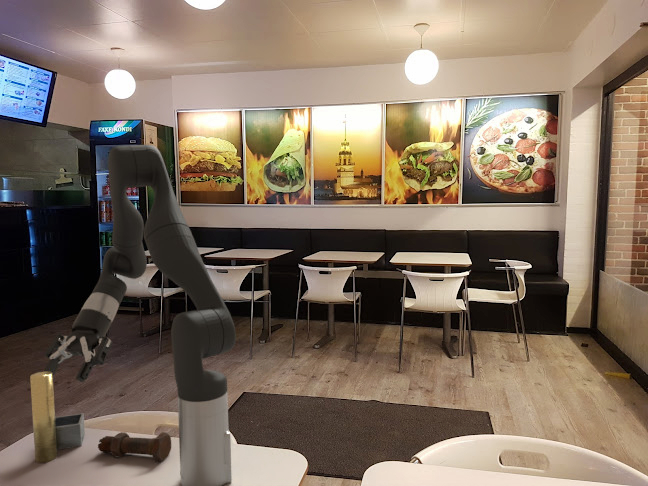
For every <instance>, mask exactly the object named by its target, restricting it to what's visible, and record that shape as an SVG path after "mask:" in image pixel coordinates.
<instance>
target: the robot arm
mask: <svg viewBox="0 0 648 486" xmlns="http://www.w3.org/2000/svg"><path fill="white" fill-rule="evenodd" d="M107 167H108V168H107V169H108V170H107V171H108V180H109V181H108V182H109V190H110V200H111V206H112V207H111V208H112V217H113V219H112V220H113V221H112V223H113V224H112V239H111V243H112V246H111V247H110V248H108V250H106V251H105V254H104V257H103V261H102V262H103V263H102V269H101V271H100V275H99V278H98V281H97V283H96V284H95V286H94V289H93V291H92V293H91V294H90V295H89V297H88V298H87V299H86V301H85V302H84V304H83V306H82V307H81V310H80V311H79V312H78V315H77V316H76V318H75V320H74V322H73V323H72V330H71V332H70V334H68V335H63V334H62V333H60V332H59V333H57V334H56V336H55V337H54V339H53V340H52V342H51V343H50V345H49V346H48V348H47V350H46V351H45V352H44V356H45V357H46V358H47V359H48V360H49V361H48V363H47V365H46V366H45V369H44V370H43V372H52V373H53V376H54V375H56V372H57V371H58V369H59V367H60V363H63V361H65V360H66V359H70V358H72V356H75V357H77V356H80V357H84V362H83V363H82V364H81V366H80V369H79V371H78V372H77V374H76V377H75V379H76V380H77V381H78V382H80V383H85V381H86V380H87V379H88V378H89V376H90V374H91V372H92V370H93V368H94V367H95V366H97V365H100V366H102V365H104V364H105V363H106V360H107V357H108V355H109V352H110V349H111V348H112V345H113V341H112V340H111V339H110V338H109V337H108V336H106V334H107V333H108V331H109V328H110V327H111V325H112V323H113V321H114V319H115V316H116V315H117V312H118V309H119V307H120V305H121V302H122V301H123V298H124V297H125V295H126V292H127V290H128V286H127V284H126V282H125V281H123V280H122V279H121V278H119V277H118V276H115V275H119V276H122V277H124V278H128V279H133V280H136V279H139V278H141V277H142V276H143V275H144V273H145V272H146V269H147V266H148V265H147V264H148V262H147V259H148V258H147V254H146V251H145V249H144V244H143V240H144V242H145V245H146V247H147V250H148V253H149V256H150V259H151V261H152V263H153V265H155V267H156V269H157V270H159V271H160V272H161V273H162V274H163V275H165V276H166V278H168V279H169V280H170V281H172V282H173V283H174V284H175V285H177V286H178V287H180V288H181V289H182V290H183V292H185V293H186V294H187V296H189V298H190V300H191V301H192V303H193V305H194V306H195V307H196V309H193V310H189V311H188V310H187V311H183V312H180V313H178V314H177V315H175V316H174V319H173V321H172V323H171V329H170V330H171V332H170V333H171V336H170V337H171V347H172V355H173V357H172V358H173V373H174V379H175V383H176V384H175V385H176V387H177V411H178V412H177V414H178V441H179V469H180V470H179V476H180V485H181V486H224V485H226V484H228V483H232V480H233V479H232V448H231V447H232V446H231V445H232V444H231V442H232V440H231V437H232V436H231V432H230V429H229V405H228V403H229V402H228V400H229V398H228V379H227V376H226V375H225V374H224V373H223V372H220V371H217V370H212V369H204V364H203V359H207V358H211V357H215V356H219V355H222V354H225V353H227V352H230V351H231V350H232V349H233V348H234V347H235V345H236V340H237V334H236V326H235V323H234V320H233V318H232V314H231V312H230V311H229V309H228V307H227V305H226V303H225V302H224V300H223V298H222V296H221V294H220V292H219V291H218V289H217V287H216V285H215V284H214V282H213V279H212V278H211V276H210V274H209V272H208V270H207V267H206V266H205V263H204V261H203V258H202V257H201V253H200V252H199V248H198V246H197V243H196V240H195V238H194V236H193V234H192V230H191V229H190V227H189V224H188V222H187V221H186V219H185V216H184V213H183V212H182V210H181V206H180V204H179V202H178V200H177V197H176V195H175V192H174V188H173V185H172V183H171V178H170V177H169V176H170V175H169V173H168V170H167V166H166V163H165V160H164V158H163V156H162V153H161V151H160V150H159V149H158V148H157V146H155V145H152V144H132V145H131V144H130V145H117V146H114V147H112V148H111V149H110V151H109V154H108V161H107ZM143 187H150V188H152V190H153V193H154V199H153V202H152V206H151V209H150V211H149V214H148V216H147V218H146V221H145V223H144V219H143V216H142V213H140V211H139V210H138V209H137V208H136V206H135V205H134V204H133V203H132V201H131V200H130V199H129V196H128V195H127V189H131V188H143ZM143 238H144V239H143ZM66 350H67V351H66ZM95 350H96V351H95Z"/></svg>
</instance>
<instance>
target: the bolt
mask: <svg viewBox="0 0 648 486" xmlns="http://www.w3.org/2000/svg"><path fill="white" fill-rule="evenodd" d="M97 448H98V450H99V451H100V452H102V453H111V455H113V457H115V458H122V457H124V456H125V455H127V454H130V455H131V454H133V455H144V456H145V455H147V456H152V457H153V459H154V460H155V462H157V463H158V462H159V463H162V462H164V461H165V460H166V459H167V458H168V457H169V455H170V453H171V450H172V439H171V435H170V434H169V433H167V432H163V431H161V432H160V433H159V434H158V435H157V436H156V437H152V438H151V437H150V438H148V437H147V438H146V437H131V436H130V435H129V434H128V433H127V432H123V431H121V432H118V433H117V434H115V435H114V436H112V435H109V436H108V435H106V436H104V437H102V438H100V439H99V441H98V444H97Z"/></svg>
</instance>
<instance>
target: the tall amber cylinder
mask: <svg viewBox="0 0 648 486" xmlns="http://www.w3.org/2000/svg"><path fill="white" fill-rule="evenodd" d="M30 394H31V409H32V410H31V411H32V413H31V414H32V427H33V428H32V429H33V430H32V431H33V442H34V443H33V447H34V460H35V461H34V462H35V463H38V464H44V463H48V462H51V461H54V460H55V459H56V458H57V456H58V450H57V446H56V427H55V417H56V413H55V395H54V394H55V393H54V375H53V373H52V372H44V371H39V372H35V373H33V374H31V375H30Z"/></svg>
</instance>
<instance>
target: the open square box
mask: <svg viewBox="0 0 648 486" xmlns="http://www.w3.org/2000/svg"><path fill="white" fill-rule="evenodd" d="M55 427H56V446H57V451H58V450H64V449H70V448H71V449H72V448H77V447H82V445H83V441H84V438H85V435H86V433H85V432H86V431H85V413H84V412H81V413H74V414H68V415H62V416H55Z"/></svg>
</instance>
